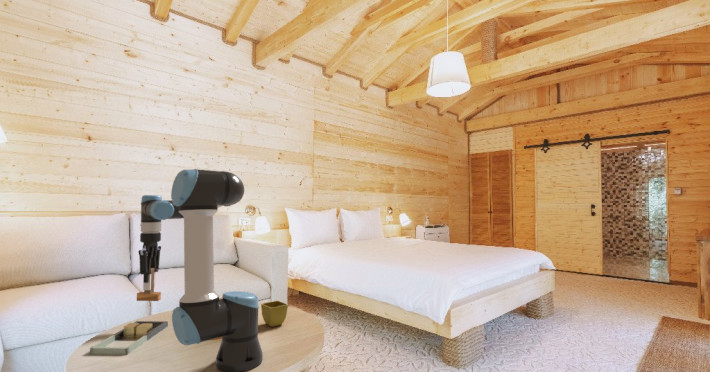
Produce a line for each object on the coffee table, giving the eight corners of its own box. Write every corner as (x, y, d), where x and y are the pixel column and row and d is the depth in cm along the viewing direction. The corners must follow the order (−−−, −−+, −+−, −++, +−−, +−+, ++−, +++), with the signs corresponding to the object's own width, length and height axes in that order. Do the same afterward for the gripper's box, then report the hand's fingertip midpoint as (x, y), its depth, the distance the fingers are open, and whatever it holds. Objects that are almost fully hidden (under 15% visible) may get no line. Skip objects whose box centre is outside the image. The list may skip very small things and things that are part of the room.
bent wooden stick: (157, 301, 152) (158, 269, 153) (136, 300, 152) (137, 268, 152) (160, 299, 155) (161, 268, 155) (140, 299, 155) (141, 267, 155)
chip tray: (127, 357, 128) (127, 348, 128) (89, 356, 128) (90, 348, 128) (146, 343, 140) (147, 335, 140) (112, 343, 140) (112, 335, 140)
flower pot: (277, 319, 169) (278, 300, 169) (288, 325, 162) (288, 304, 163) (260, 324, 163) (260, 303, 163) (270, 329, 156) (270, 308, 157)
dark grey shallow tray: (146, 343, 140) (147, 335, 140) (112, 343, 140) (112, 335, 140) (167, 328, 156) (167, 321, 156) (136, 328, 156) (136, 321, 156)
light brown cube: (146, 337, 144) (146, 326, 144) (136, 337, 144) (136, 326, 144) (152, 333, 148) (152, 323, 148) (142, 333, 148) (142, 323, 148)
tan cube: (133, 337, 144) (134, 326, 144) (123, 337, 144) (123, 326, 144) (139, 333, 148) (139, 323, 148) (129, 333, 148) (129, 323, 148)
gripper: (151, 230, 162) (150, 284, 161) (130, 234, 146) (128, 294, 146) (169, 230, 162) (167, 284, 161) (149, 234, 146) (147, 294, 146)
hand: (149, 289), depth 154 cm, fingers closed on bent wooden stick, 3 cm apart
